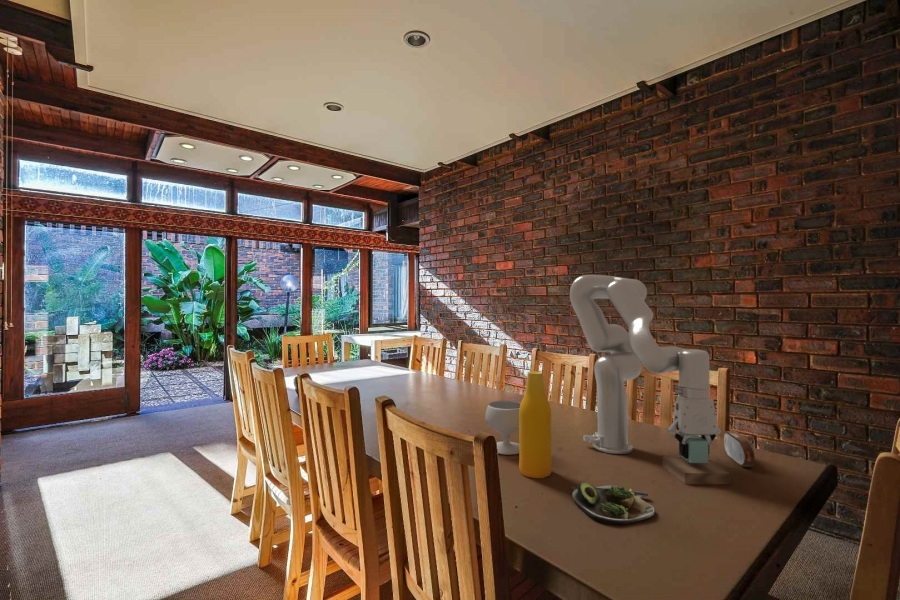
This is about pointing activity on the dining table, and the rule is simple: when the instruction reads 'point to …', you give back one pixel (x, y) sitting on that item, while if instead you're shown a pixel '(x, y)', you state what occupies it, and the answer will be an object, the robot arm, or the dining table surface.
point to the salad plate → (611, 503)
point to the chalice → (504, 423)
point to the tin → (739, 449)
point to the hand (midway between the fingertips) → (694, 456)
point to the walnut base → (696, 471)
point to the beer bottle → (535, 429)
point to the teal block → (697, 450)
